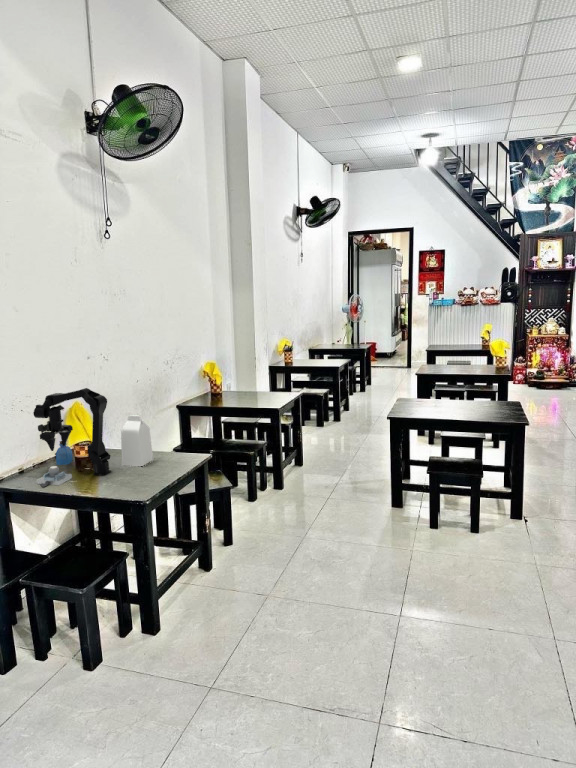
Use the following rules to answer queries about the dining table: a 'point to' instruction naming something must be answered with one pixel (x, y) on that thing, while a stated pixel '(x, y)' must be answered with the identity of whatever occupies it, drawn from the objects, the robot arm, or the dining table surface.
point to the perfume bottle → (63, 455)
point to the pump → (53, 471)
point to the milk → (136, 442)
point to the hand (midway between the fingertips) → (58, 448)
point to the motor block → (54, 479)
